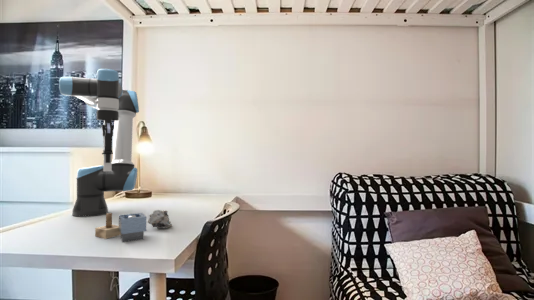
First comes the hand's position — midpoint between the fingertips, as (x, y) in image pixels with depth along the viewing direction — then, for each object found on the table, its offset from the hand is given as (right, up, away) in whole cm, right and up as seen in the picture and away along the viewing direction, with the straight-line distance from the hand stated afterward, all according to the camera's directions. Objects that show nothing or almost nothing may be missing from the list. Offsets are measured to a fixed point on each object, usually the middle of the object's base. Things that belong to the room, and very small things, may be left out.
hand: (107, 171), depth 119 cm
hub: (+14, -23, -9) cm, 29 cm away
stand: (+4, -23, -6) cm, 24 cm away
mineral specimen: (+18, -24, +5) cm, 31 cm away
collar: (+14, -20, -9) cm, 26 cm away
